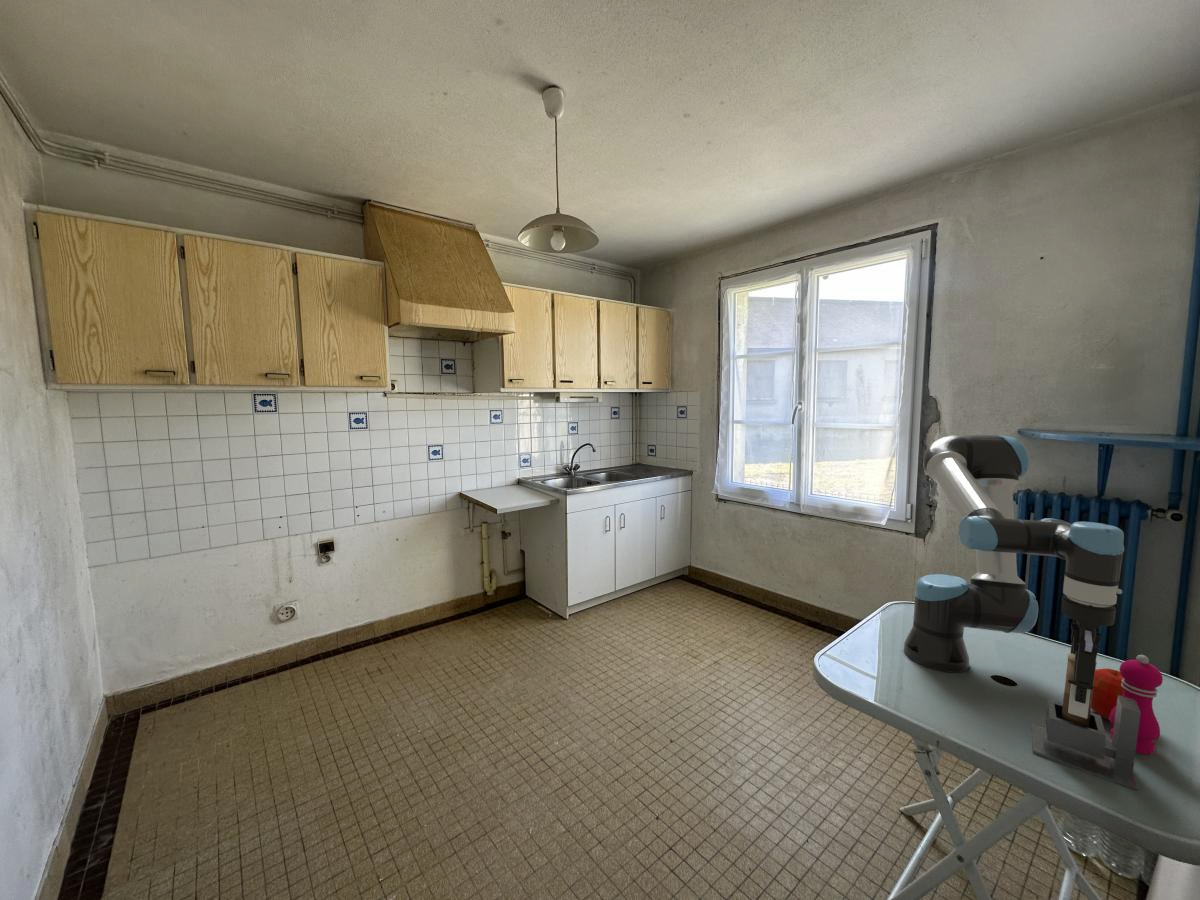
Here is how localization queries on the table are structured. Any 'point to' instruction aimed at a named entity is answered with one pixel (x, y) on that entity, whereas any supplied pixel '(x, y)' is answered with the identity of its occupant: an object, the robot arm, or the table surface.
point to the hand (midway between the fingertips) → (1076, 709)
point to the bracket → (1092, 742)
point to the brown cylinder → (1065, 713)
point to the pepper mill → (1141, 699)
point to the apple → (1106, 691)
